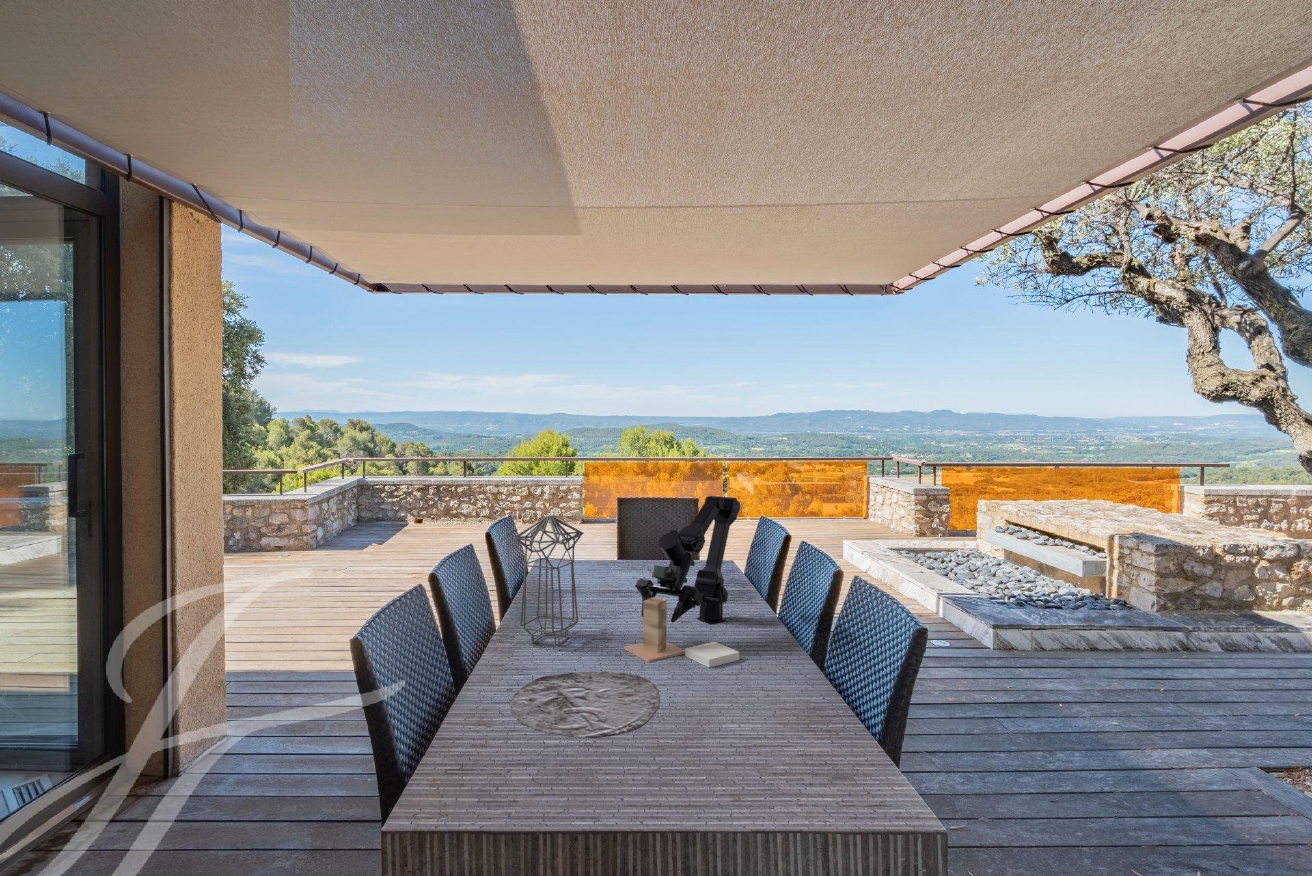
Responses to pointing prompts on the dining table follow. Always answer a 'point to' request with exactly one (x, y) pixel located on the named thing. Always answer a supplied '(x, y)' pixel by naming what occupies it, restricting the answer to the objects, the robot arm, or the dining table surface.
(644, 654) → the terracotta tile
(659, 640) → the oak block
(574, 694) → the worn metal disc
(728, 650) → the white square tile
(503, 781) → the dining table surface
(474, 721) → the dining table surface
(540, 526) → the geometric lantern
